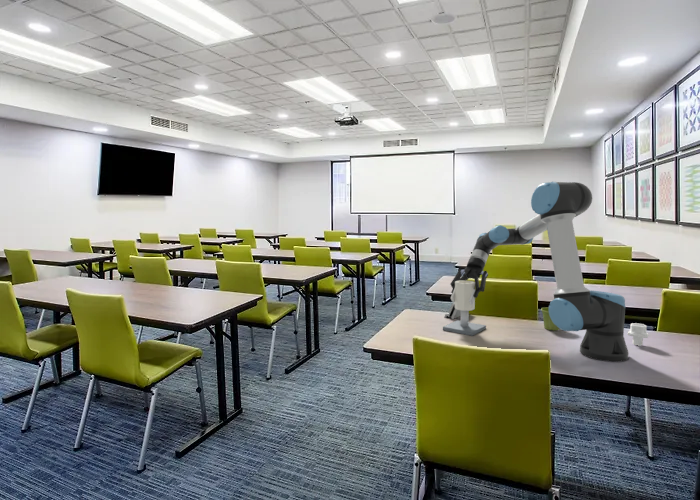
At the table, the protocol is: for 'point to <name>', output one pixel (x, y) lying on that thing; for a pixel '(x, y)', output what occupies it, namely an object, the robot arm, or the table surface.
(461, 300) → the white faceted cup
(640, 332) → the white figurine planter
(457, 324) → the post base
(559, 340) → the table surface
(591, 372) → the table surface
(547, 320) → the plant pot
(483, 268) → the robot arm
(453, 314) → the grey curved piece
